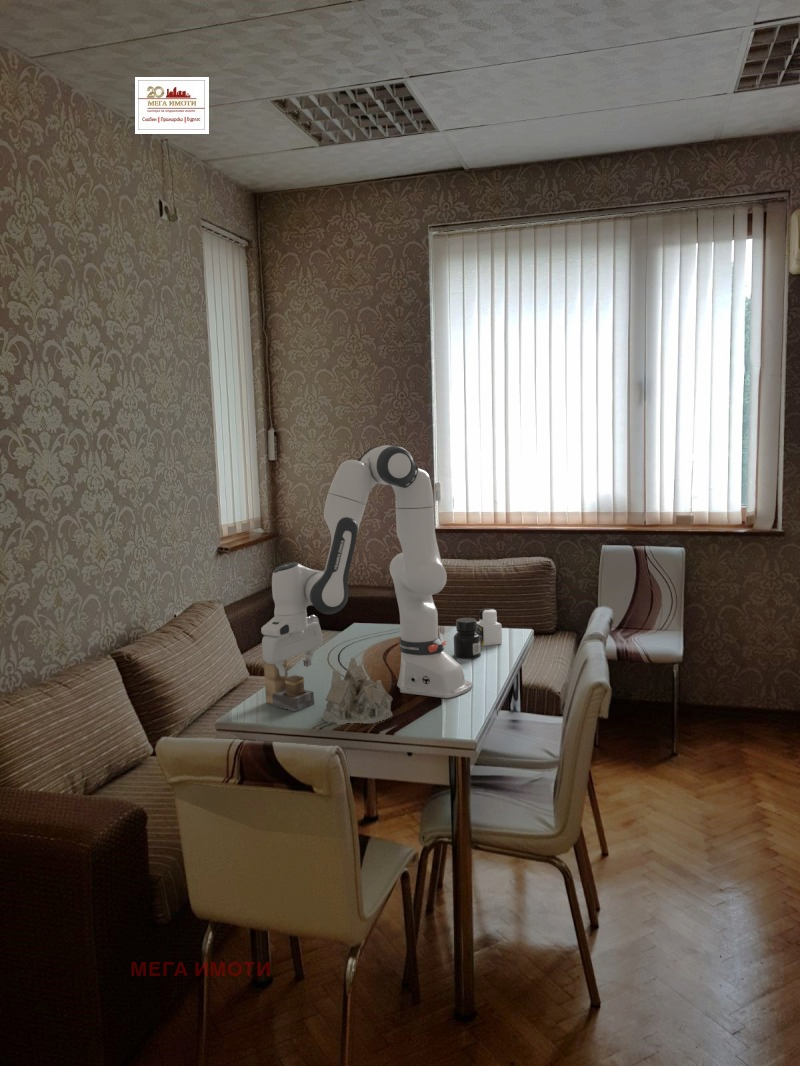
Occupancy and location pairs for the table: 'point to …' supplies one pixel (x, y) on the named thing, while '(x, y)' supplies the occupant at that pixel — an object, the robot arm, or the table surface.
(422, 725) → the table surface
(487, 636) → the medicine bottle
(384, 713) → the ceramic cottage
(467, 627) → the ink bottle
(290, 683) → the small wooden block
